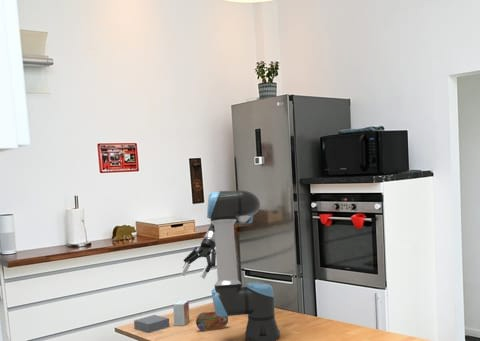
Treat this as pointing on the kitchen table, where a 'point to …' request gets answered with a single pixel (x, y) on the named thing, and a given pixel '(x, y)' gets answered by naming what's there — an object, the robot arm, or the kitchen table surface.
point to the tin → (211, 321)
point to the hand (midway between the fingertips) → (192, 276)
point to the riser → (151, 323)
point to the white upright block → (181, 313)
